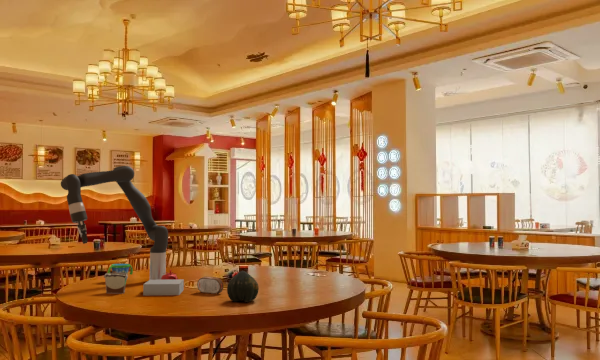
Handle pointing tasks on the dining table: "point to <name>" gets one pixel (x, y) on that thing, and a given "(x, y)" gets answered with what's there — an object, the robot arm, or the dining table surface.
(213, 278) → the tin
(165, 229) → the robot arm
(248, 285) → the squash
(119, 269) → the snack cup
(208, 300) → the dining table surface
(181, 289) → the slate block
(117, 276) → the food container
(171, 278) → the pomegranate
